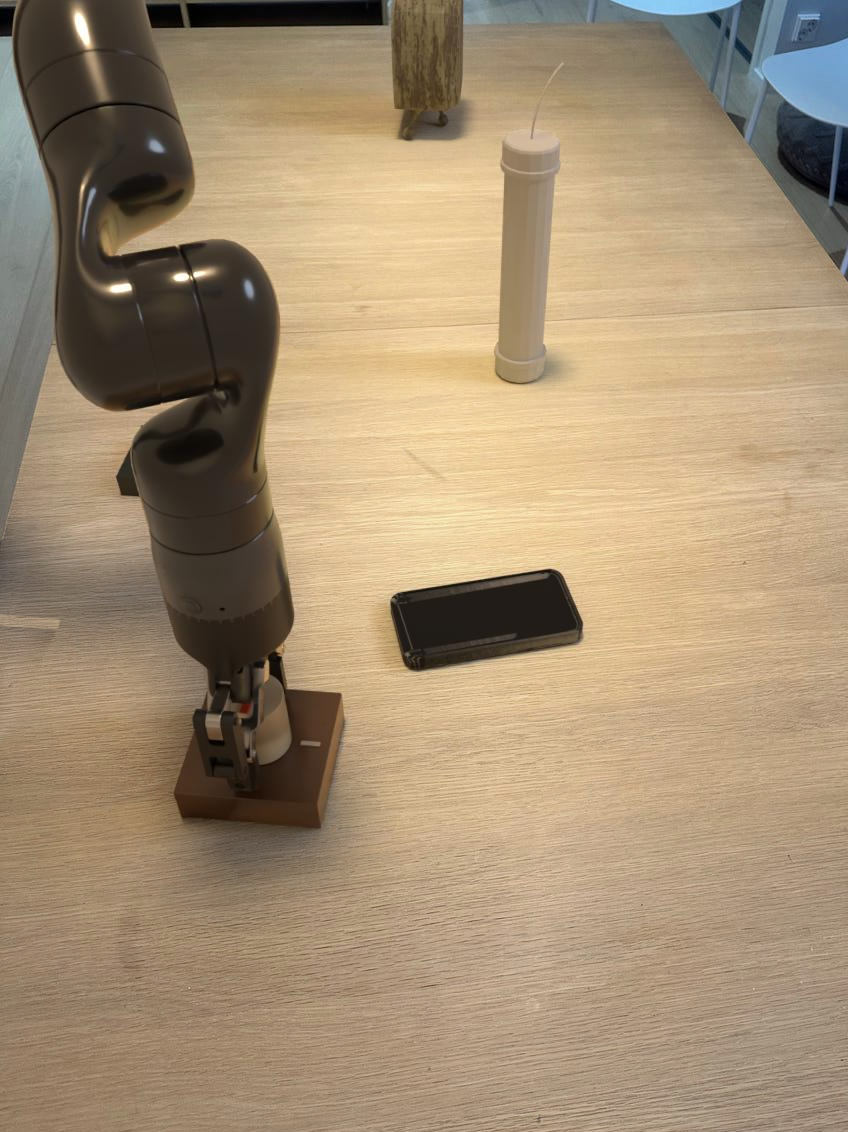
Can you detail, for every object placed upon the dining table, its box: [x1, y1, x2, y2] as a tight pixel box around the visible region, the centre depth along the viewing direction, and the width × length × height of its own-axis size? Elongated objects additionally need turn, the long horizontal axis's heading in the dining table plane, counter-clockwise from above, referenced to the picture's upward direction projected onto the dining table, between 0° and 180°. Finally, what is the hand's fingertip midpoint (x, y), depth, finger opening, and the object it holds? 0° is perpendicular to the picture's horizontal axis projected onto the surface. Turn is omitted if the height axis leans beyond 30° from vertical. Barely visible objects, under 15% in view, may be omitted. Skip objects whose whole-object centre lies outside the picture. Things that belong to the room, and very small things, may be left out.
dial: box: [231, 675, 292, 765], centre depth 74 cm, size 4×4×5 cm
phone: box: [389, 568, 584, 670], centre depth 87 cm, size 8×1×15 cm
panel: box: [172, 688, 345, 829], centre depth 77 cm, size 10×10×3 cm
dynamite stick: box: [493, 61, 565, 384], centre depth 103 cm, size 6×6×30 cm
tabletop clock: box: [390, 0, 464, 140], centre depth 148 cm, size 14×9×25 cm, turn 178°
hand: (259, 736), depth 75 cm, fingers open, 8 cm apart
